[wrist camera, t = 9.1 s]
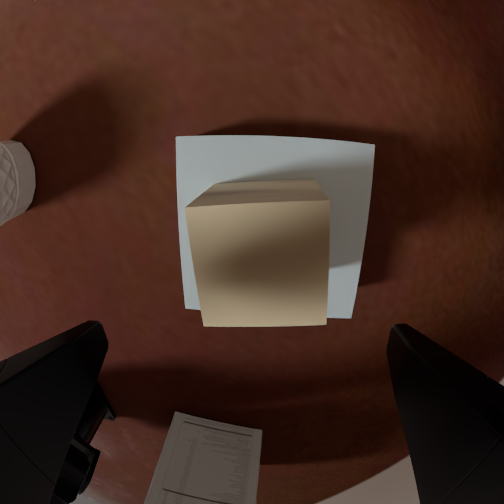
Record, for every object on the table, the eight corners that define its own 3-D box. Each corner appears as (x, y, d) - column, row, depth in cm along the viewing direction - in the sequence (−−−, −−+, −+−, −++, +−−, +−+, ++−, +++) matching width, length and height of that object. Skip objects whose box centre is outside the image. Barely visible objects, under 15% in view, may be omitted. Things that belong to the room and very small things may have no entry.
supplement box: (172, 448, 31) (136, 561, 15) (173, 408, 27) (122, 551, 12) (248, 465, 31) (231, 582, 15) (265, 429, 27) (249, 579, 12)
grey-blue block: (340, 286, 21) (350, 318, 17) (201, 279, 22) (185, 308, 18) (356, 142, 17) (374, 144, 14) (196, 135, 18) (175, 136, 14)
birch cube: (315, 271, 16) (326, 324, 12) (224, 274, 17) (203, 326, 12) (314, 178, 15) (329, 200, 10) (214, 184, 15) (184, 207, 11)
